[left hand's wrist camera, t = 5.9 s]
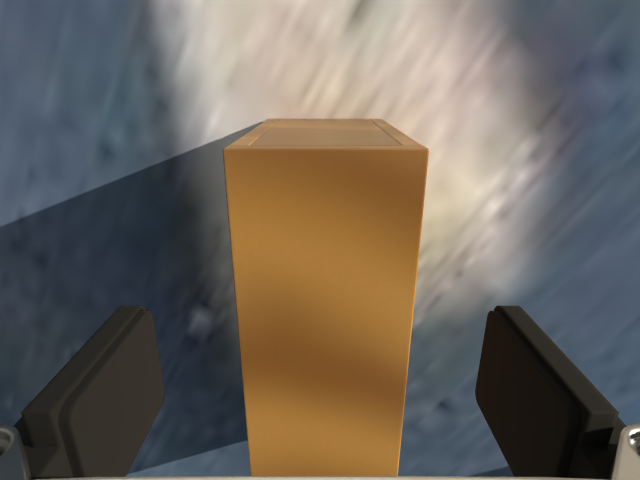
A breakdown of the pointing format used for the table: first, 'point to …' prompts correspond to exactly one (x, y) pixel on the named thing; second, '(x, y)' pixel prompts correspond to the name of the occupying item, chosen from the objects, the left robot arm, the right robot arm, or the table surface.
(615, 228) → the table surface
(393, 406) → the box
